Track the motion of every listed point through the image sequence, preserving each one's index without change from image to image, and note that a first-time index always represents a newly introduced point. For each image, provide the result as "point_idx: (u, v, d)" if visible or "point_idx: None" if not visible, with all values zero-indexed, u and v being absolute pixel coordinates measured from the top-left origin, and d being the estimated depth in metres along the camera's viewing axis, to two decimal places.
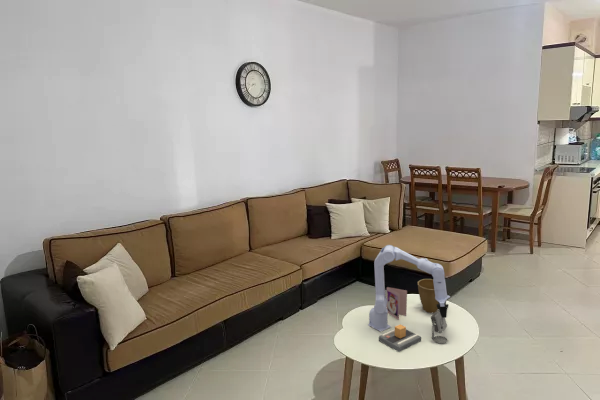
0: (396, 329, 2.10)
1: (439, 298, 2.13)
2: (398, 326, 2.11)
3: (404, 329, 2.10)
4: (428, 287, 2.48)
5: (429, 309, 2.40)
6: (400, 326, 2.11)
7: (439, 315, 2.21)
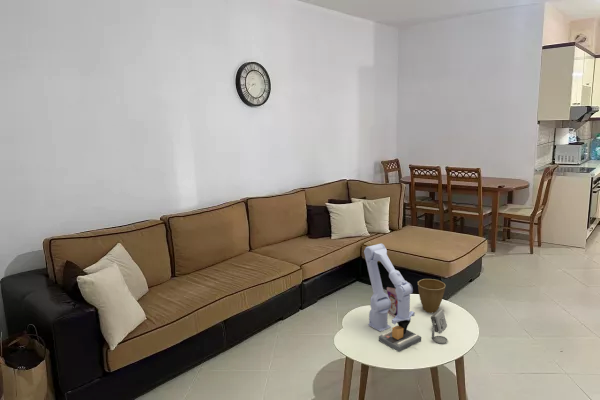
0: (394, 330, 2.09)
1: (398, 316, 2.10)
2: (396, 327, 2.10)
3: (402, 330, 2.09)
4: (428, 287, 2.48)
5: (429, 309, 2.40)
6: (398, 327, 2.10)
7: (439, 315, 2.21)
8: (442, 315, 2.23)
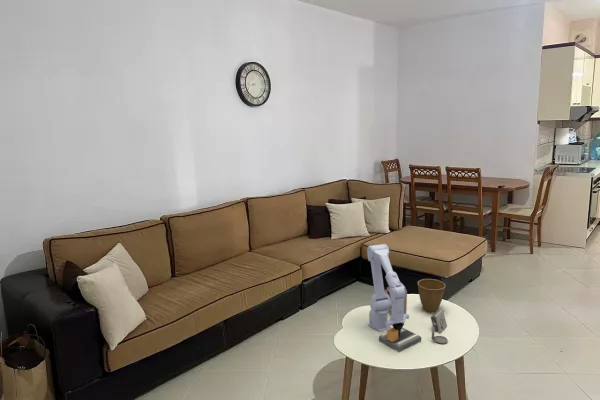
0: (388, 332, 2.07)
1: (392, 318, 2.08)
2: (390, 329, 2.08)
3: (396, 332, 2.07)
4: (428, 287, 2.48)
5: (429, 309, 2.40)
6: (392, 329, 2.08)
7: (439, 315, 2.21)
8: (442, 315, 2.23)
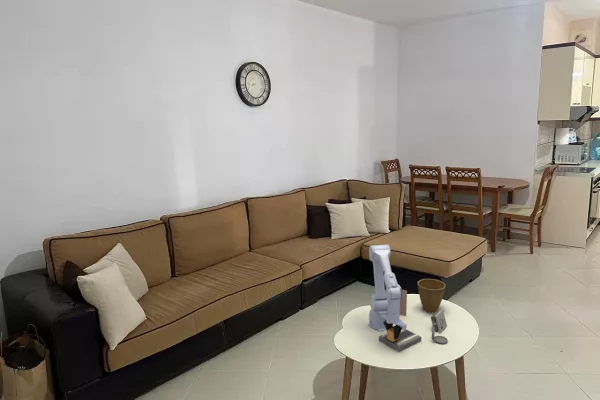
0: (389, 332, 2.07)
1: None
2: (391, 329, 2.08)
3: None
4: (428, 287, 2.48)
5: (429, 309, 2.40)
6: None
7: (439, 315, 2.21)
8: (442, 315, 2.23)
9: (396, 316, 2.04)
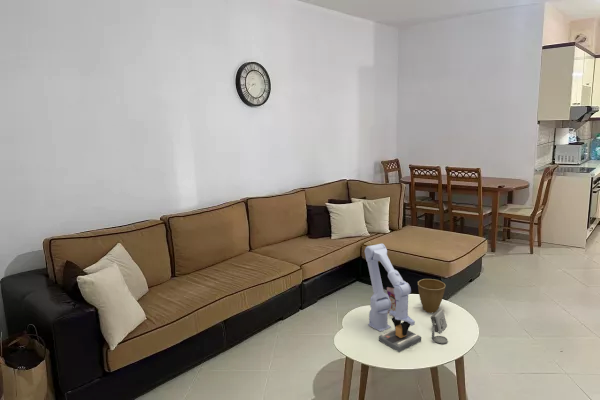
0: (397, 329, 2.11)
1: None
2: (399, 326, 2.12)
3: None
4: (428, 287, 2.48)
5: (429, 309, 2.40)
6: (401, 326, 2.12)
7: (439, 315, 2.21)
8: (442, 315, 2.23)
9: (405, 312, 2.07)
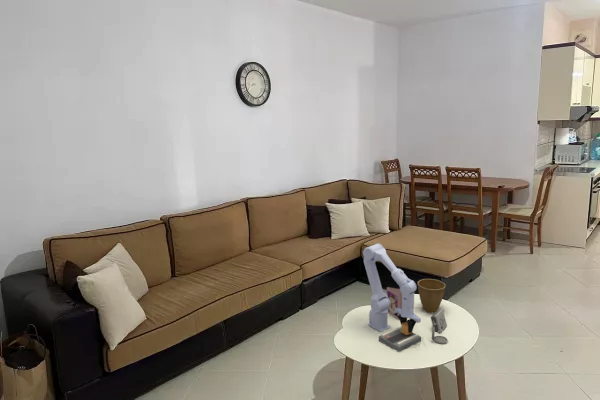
0: (403, 326, 2.13)
1: None
2: (405, 323, 2.14)
3: None
4: (428, 287, 2.48)
5: (429, 309, 2.40)
6: (407, 323, 2.14)
7: (439, 315, 2.21)
8: (442, 315, 2.23)
9: (411, 310, 2.09)
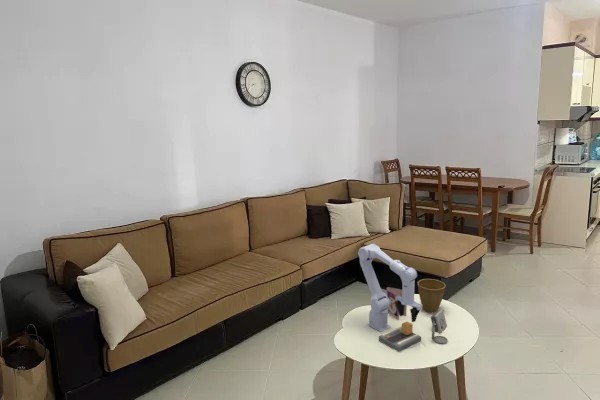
0: (403, 326, 2.13)
1: None
2: (405, 323, 2.14)
3: (411, 326, 2.13)
4: (428, 287, 2.48)
5: (429, 309, 2.40)
6: (407, 323, 2.14)
7: (439, 315, 2.21)
8: (442, 315, 2.23)
9: (411, 297, 2.08)
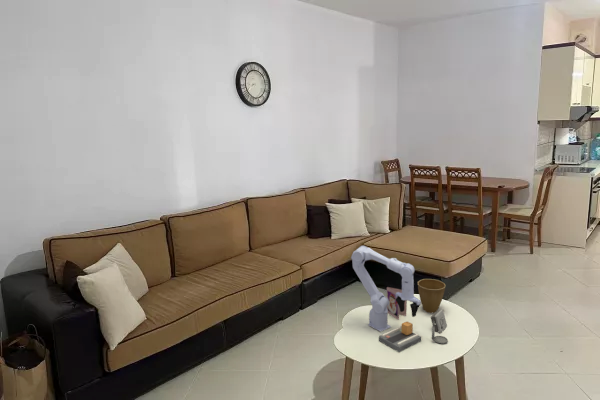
0: (403, 326, 2.13)
1: None
2: (405, 323, 2.14)
3: (411, 326, 2.13)
4: (428, 287, 2.48)
5: (429, 309, 2.40)
6: (407, 323, 2.14)
7: (439, 315, 2.21)
8: (442, 315, 2.23)
9: (411, 293, 2.13)
